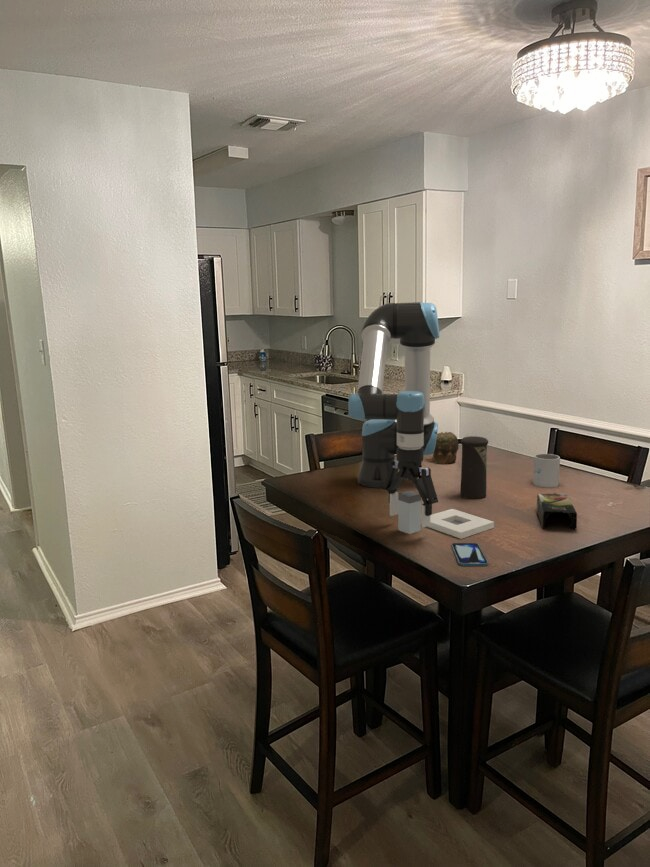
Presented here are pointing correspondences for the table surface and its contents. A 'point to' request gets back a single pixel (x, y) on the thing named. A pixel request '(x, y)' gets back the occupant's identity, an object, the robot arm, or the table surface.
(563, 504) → the juice carton
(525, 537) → the table surface
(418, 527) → the plug
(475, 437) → the container
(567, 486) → the table surface
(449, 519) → the socket
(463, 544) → the smartphone
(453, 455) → the brown rounded lump
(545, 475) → the mug
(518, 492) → the table surface
